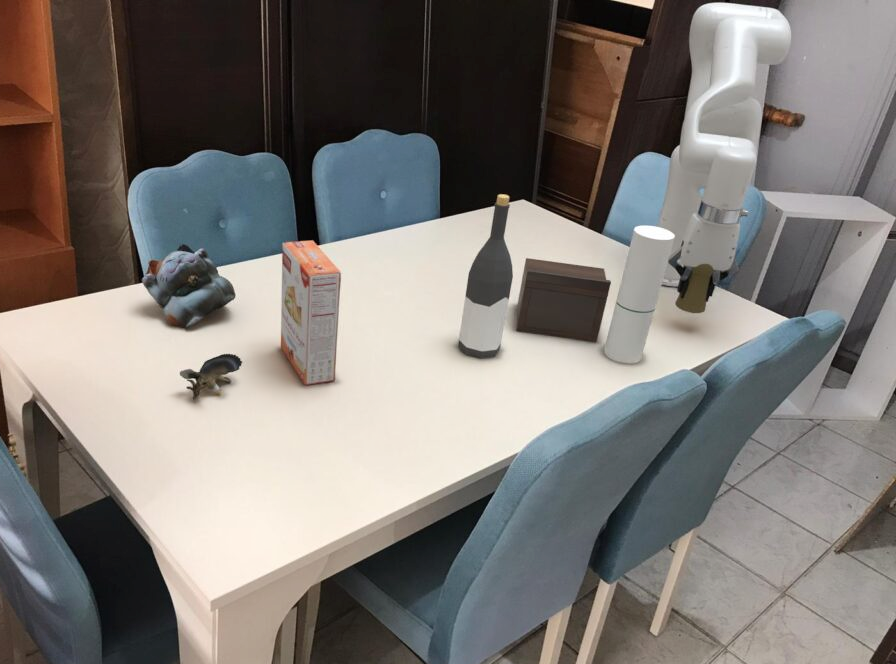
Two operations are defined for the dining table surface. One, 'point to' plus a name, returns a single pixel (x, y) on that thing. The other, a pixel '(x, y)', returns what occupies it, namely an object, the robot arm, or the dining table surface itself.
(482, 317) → the wine bottle
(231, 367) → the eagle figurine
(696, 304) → the olive brown pepper mill
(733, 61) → the robot arm
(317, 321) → the cracker box
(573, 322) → the dark wooden chest
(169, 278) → the lucky cat figurine
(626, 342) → the cylindrical container
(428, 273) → the dining table surface
